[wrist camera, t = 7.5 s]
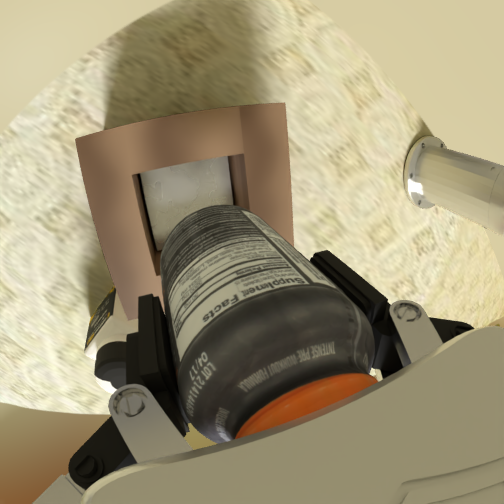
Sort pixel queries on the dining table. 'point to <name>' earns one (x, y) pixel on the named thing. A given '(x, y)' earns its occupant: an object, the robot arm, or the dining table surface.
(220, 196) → the plate
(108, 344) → the medicine bottle
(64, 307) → the dining table surface
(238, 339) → the pill bottle
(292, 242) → the wooden box holder
